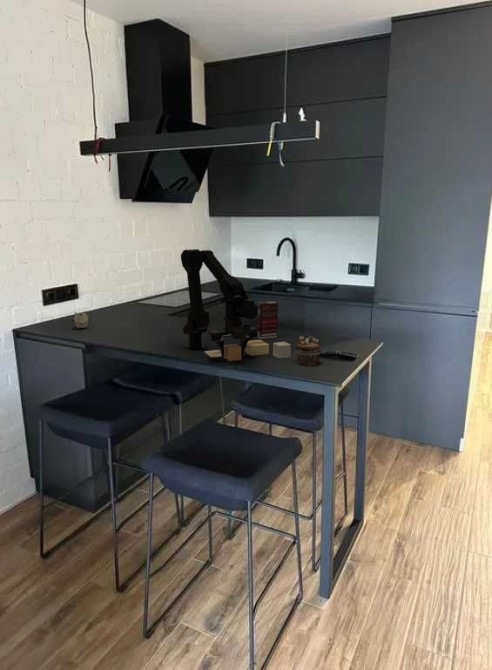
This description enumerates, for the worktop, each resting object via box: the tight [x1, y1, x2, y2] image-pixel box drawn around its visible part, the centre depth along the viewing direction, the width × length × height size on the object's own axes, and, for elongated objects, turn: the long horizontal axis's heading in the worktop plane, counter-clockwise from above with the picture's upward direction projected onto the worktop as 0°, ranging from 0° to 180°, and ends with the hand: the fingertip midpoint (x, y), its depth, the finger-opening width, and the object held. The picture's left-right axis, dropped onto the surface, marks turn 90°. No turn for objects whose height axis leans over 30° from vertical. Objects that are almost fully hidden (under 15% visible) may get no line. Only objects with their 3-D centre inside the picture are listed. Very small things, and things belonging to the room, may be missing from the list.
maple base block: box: [244, 339, 270, 356], centre depth 189 cm, size 8×8×4 cm
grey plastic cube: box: [272, 341, 292, 359], centre depth 183 cm, size 5×5×5 cm
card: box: [203, 349, 223, 358], centre depth 185 cm, size 8×6×1 cm
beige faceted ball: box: [71, 311, 91, 330], centre depth 223 cm, size 9×8×10 cm
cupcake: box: [295, 334, 322, 367], centre depth 175 cm, size 10×10×10 cm
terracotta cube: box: [223, 343, 242, 362], centre depth 179 cm, size 5×5×5 cm
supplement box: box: [255, 300, 278, 340], centre depth 211 cm, size 9×5×16 cm, turn 113°
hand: (232, 355), depth 179 cm, fingers open, 7 cm apart
